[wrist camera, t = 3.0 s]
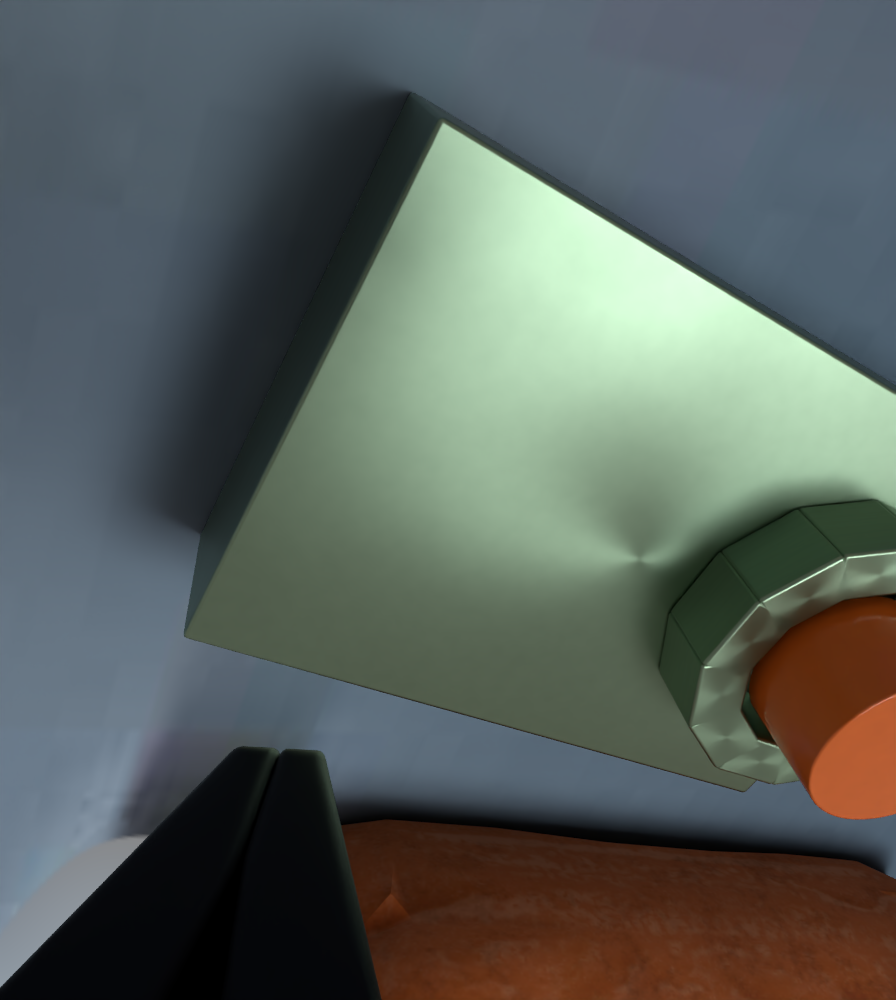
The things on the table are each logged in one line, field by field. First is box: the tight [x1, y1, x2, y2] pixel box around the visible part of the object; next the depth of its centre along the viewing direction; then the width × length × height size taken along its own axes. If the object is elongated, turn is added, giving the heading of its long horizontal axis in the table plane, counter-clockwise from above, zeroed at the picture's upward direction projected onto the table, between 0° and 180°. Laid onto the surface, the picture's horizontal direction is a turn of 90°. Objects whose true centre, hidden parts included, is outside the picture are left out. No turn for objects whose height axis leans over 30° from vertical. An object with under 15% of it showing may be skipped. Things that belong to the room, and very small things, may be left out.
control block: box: [184, 93, 896, 792], centre depth 18 cm, size 16×11×6 cm
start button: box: [749, 596, 896, 819], centre depth 17 cm, size 4×4×3 cm
